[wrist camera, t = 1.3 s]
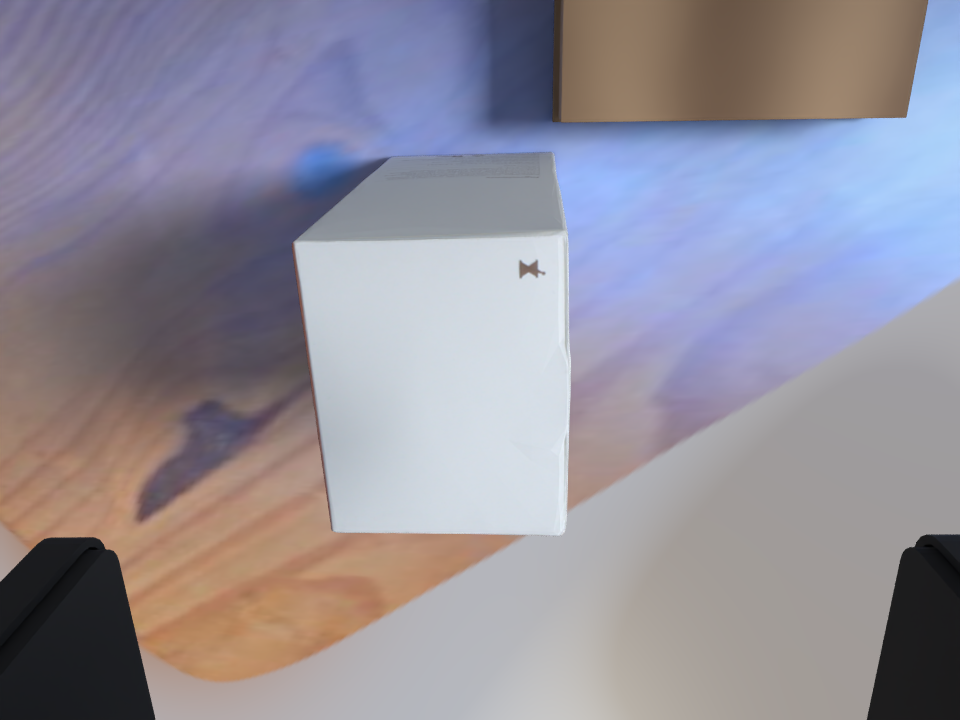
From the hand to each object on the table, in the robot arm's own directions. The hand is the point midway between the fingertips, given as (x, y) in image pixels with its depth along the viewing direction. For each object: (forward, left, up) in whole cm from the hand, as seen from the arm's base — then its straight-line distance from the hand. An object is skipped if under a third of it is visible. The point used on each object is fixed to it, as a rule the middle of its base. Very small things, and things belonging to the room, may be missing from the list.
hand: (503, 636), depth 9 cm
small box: (+2, +1, -22) cm, 22 cm away
